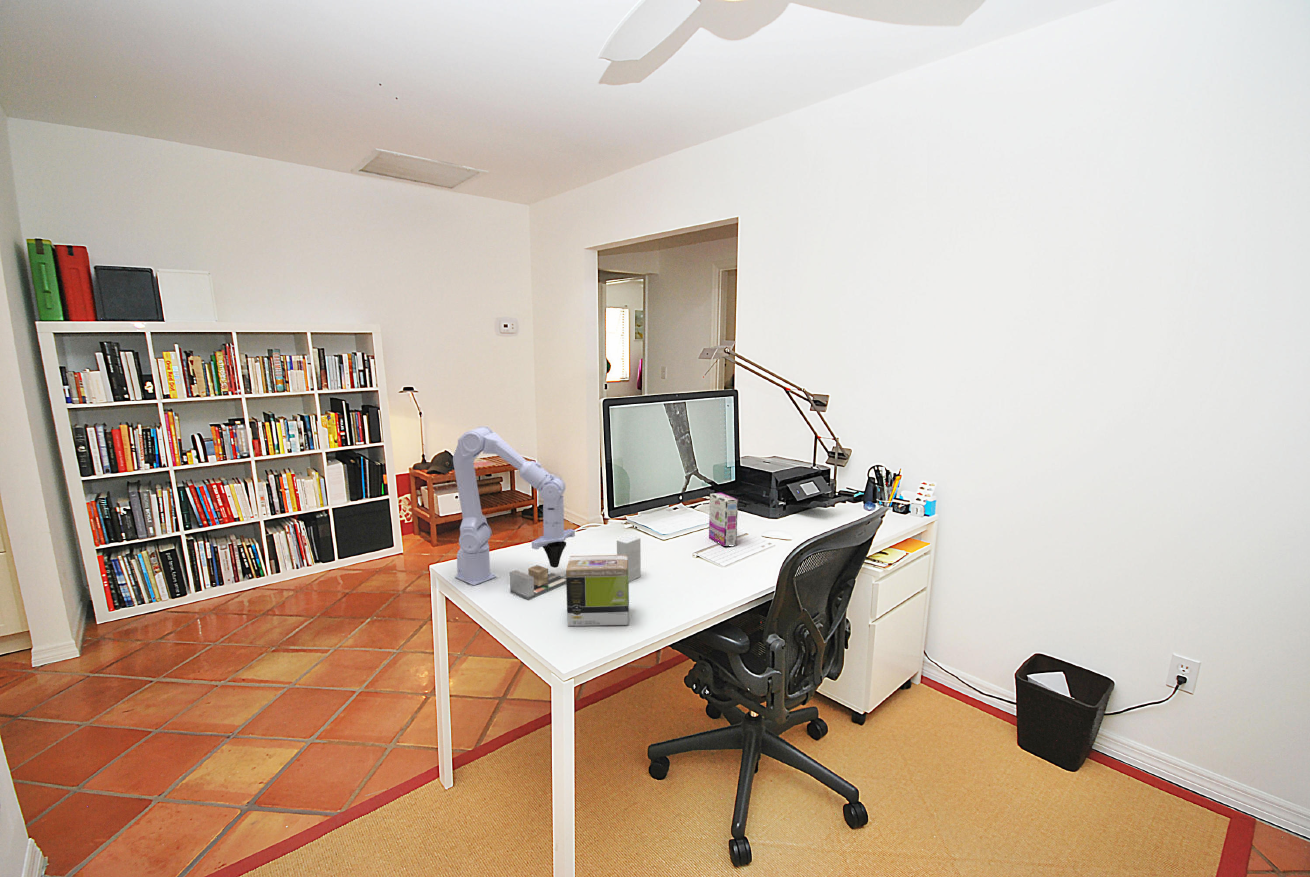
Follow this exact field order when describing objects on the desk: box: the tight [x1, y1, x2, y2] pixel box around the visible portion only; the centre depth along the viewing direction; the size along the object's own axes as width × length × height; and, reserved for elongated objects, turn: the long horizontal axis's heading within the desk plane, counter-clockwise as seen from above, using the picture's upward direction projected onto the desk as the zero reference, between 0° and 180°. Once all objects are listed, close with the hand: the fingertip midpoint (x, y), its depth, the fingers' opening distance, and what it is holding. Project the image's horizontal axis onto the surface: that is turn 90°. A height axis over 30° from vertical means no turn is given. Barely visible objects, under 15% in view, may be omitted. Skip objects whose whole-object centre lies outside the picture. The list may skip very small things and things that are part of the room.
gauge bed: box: [509, 569, 566, 601], centre depth 159 cm, size 15×8×6 cm, turn 142°
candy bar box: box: [708, 492, 739, 547], centre depth 196 cm, size 11×5×16 cm, turn 25°
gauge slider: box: [527, 564, 549, 588], centre depth 158 cm, size 4×6×4 cm, turn 52°
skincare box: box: [616, 534, 642, 582], centre depth 165 cm, size 6×4×12 cm
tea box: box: [565, 554, 630, 627], centre depth 141 cm, size 15×10×15 cm, turn 92°
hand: (554, 566), depth 163 cm, fingers closed
